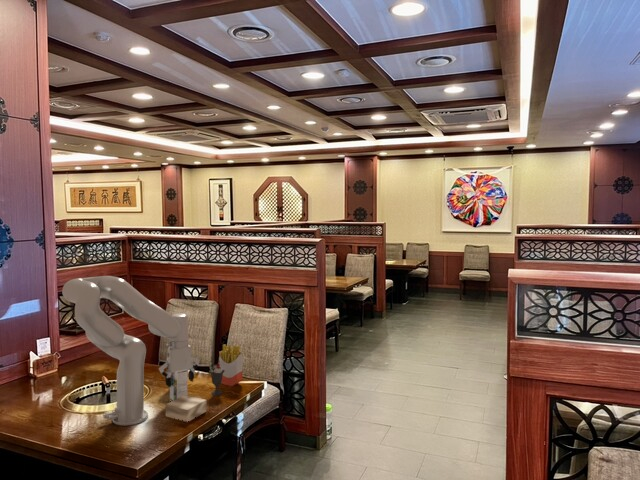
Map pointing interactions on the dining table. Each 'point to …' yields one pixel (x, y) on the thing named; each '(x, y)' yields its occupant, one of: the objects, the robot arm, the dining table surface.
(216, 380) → the sundae
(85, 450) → the dining table surface
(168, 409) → the riser block
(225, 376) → the french fries container
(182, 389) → the syrup box
